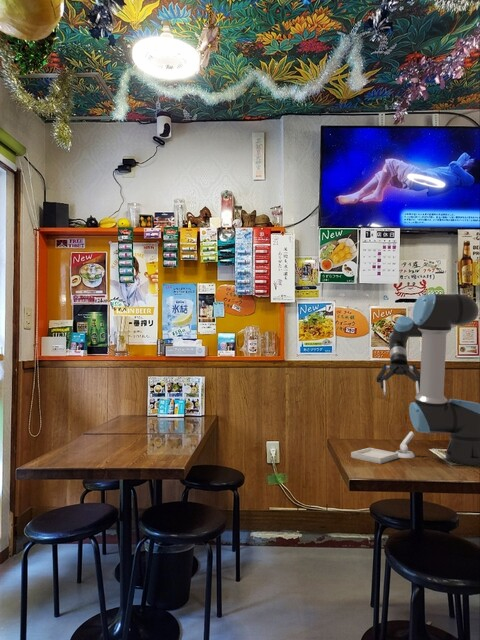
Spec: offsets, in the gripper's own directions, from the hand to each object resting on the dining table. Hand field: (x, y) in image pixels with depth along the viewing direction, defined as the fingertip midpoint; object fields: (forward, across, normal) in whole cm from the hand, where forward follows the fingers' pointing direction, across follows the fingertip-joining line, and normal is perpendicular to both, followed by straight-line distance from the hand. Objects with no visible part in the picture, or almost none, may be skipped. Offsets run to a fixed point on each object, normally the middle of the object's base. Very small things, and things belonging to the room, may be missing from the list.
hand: (401, 394), depth 191 cm
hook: (+25, 0, -9) cm, 26 cm away
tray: (+30, +11, -3) cm, 32 cm away
